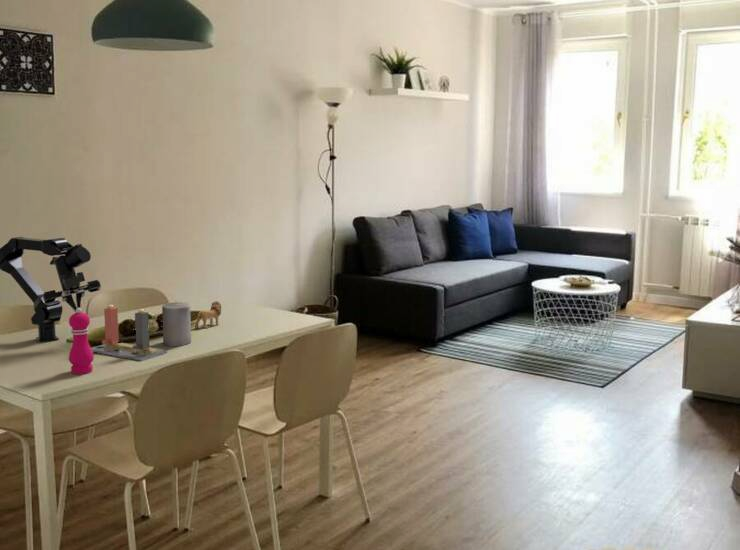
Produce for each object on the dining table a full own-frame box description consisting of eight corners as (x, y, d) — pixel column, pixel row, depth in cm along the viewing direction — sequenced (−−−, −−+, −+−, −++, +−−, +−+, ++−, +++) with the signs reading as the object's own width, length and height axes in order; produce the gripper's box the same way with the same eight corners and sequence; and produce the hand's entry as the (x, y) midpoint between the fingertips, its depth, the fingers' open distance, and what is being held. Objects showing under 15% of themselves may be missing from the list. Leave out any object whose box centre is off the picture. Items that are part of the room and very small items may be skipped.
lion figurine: (213, 322, 320) (213, 299, 319) (225, 323, 318) (224, 300, 316) (191, 329, 307) (190, 306, 305) (203, 330, 305) (202, 307, 303)
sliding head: (100, 347, 274) (98, 306, 272) (112, 343, 279) (110, 304, 277) (106, 348, 273) (105, 307, 271) (118, 344, 277) (117, 305, 275)
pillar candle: (163, 340, 290) (162, 299, 287) (191, 338, 292) (190, 298, 289) (162, 347, 280) (161, 304, 278) (191, 345, 282) (190, 303, 280)
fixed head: (131, 352, 268) (129, 311, 265) (142, 348, 272) (141, 308, 270) (137, 353, 266) (136, 312, 264) (149, 349, 271) (147, 309, 269)
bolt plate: (88, 351, 273) (88, 345, 273) (115, 344, 283) (114, 338, 283) (141, 360, 262) (140, 354, 261) (167, 352, 272) (166, 347, 272)
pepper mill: (64, 372, 248) (60, 308, 245) (83, 367, 254) (80, 304, 251) (80, 376, 244) (76, 311, 241) (99, 370, 250) (96, 307, 247)
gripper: (38, 272, 270) (51, 317, 267) (95, 259, 278) (108, 302, 276) (38, 281, 279) (50, 323, 277) (93, 268, 288) (105, 309, 285)
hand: (78, 314), depth 279 cm, fingers closed
